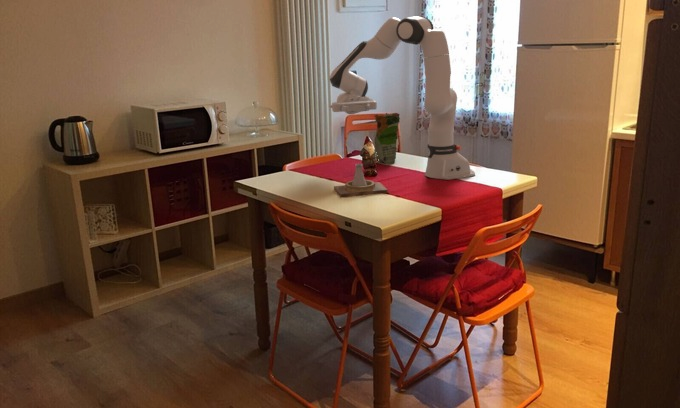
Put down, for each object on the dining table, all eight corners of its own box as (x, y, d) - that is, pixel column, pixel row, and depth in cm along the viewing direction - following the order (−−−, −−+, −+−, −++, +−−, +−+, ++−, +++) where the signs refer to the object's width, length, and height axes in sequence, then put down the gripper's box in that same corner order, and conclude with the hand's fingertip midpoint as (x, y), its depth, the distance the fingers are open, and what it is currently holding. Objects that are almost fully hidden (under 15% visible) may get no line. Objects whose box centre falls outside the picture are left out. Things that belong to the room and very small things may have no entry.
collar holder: (379, 185, 252) (379, 177, 251) (387, 193, 240) (387, 184, 239) (334, 189, 249) (333, 181, 248) (340, 197, 236) (339, 189, 235)
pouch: (401, 159, 298) (400, 111, 291) (394, 165, 288) (393, 114, 281) (380, 159, 302) (379, 110, 295) (373, 164, 292) (372, 114, 285)
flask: (367, 190, 240) (366, 166, 237) (350, 190, 241) (349, 166, 238) (368, 185, 247) (368, 162, 244) (351, 185, 248) (350, 162, 245)
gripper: (328, 99, 266) (334, 102, 253) (371, 96, 270) (379, 99, 257) (329, 112, 268) (334, 116, 255) (372, 109, 272) (379, 113, 259)
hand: (357, 108), depth 256 cm, fingers open, 8 cm apart
